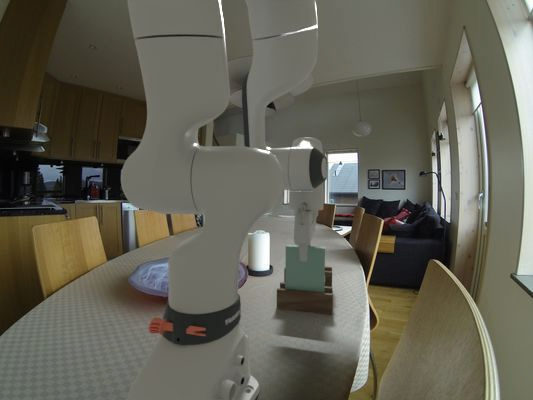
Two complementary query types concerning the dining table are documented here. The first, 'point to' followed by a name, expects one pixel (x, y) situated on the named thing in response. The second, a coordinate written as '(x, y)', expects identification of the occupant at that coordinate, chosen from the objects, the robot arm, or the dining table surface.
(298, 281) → the panel
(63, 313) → the dining table surface
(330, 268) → the rack
